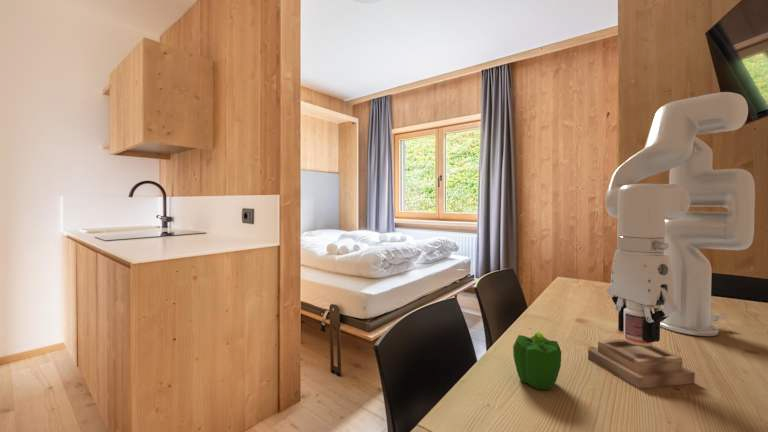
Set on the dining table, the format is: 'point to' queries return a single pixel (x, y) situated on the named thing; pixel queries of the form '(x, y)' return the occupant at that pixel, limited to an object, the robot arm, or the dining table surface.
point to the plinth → (641, 364)
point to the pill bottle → (634, 323)
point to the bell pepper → (537, 360)
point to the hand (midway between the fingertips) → (638, 334)
